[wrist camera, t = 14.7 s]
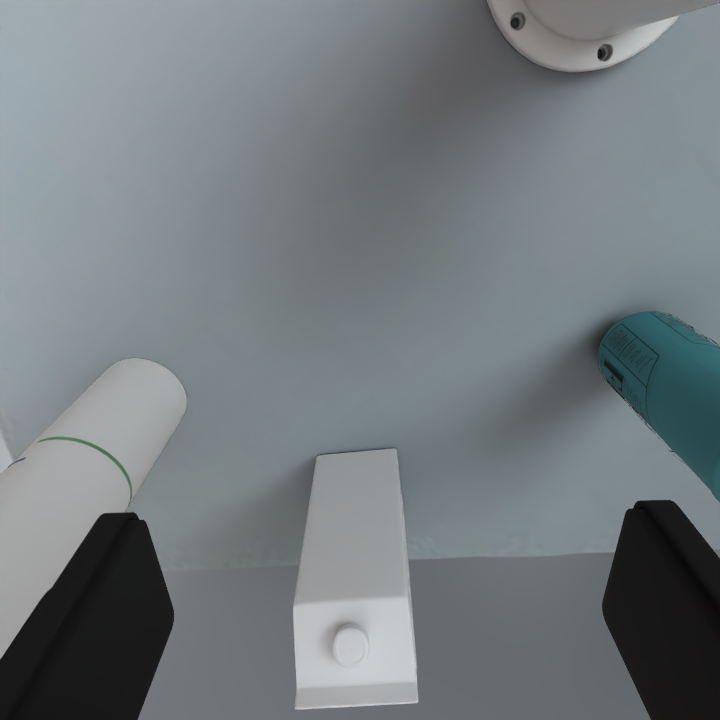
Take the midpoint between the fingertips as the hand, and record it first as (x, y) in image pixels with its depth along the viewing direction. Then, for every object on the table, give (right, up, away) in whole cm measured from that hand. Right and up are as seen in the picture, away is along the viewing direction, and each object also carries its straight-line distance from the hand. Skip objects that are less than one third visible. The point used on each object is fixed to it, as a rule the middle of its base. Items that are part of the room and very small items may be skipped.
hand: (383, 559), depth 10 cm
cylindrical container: (-19, +1, +32) cm, 37 cm away
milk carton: (0, -7, +35) cm, 36 cm away
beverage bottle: (+20, +6, +29) cm, 36 cm away
